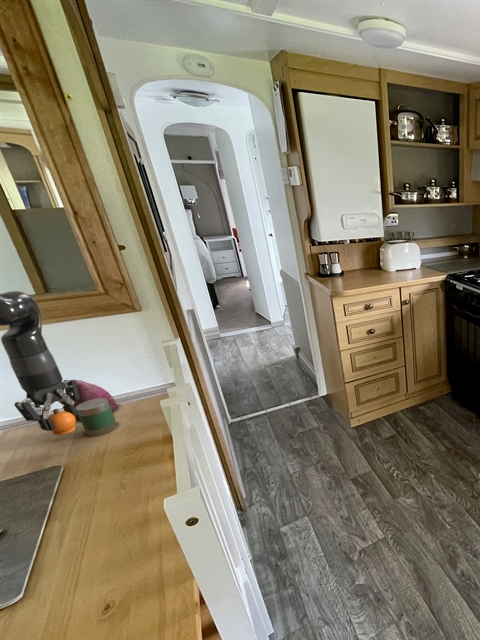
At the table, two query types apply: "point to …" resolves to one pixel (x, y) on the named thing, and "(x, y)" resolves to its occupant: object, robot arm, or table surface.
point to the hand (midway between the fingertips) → (61, 423)
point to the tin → (96, 416)
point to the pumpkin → (62, 422)
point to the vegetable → (92, 394)
